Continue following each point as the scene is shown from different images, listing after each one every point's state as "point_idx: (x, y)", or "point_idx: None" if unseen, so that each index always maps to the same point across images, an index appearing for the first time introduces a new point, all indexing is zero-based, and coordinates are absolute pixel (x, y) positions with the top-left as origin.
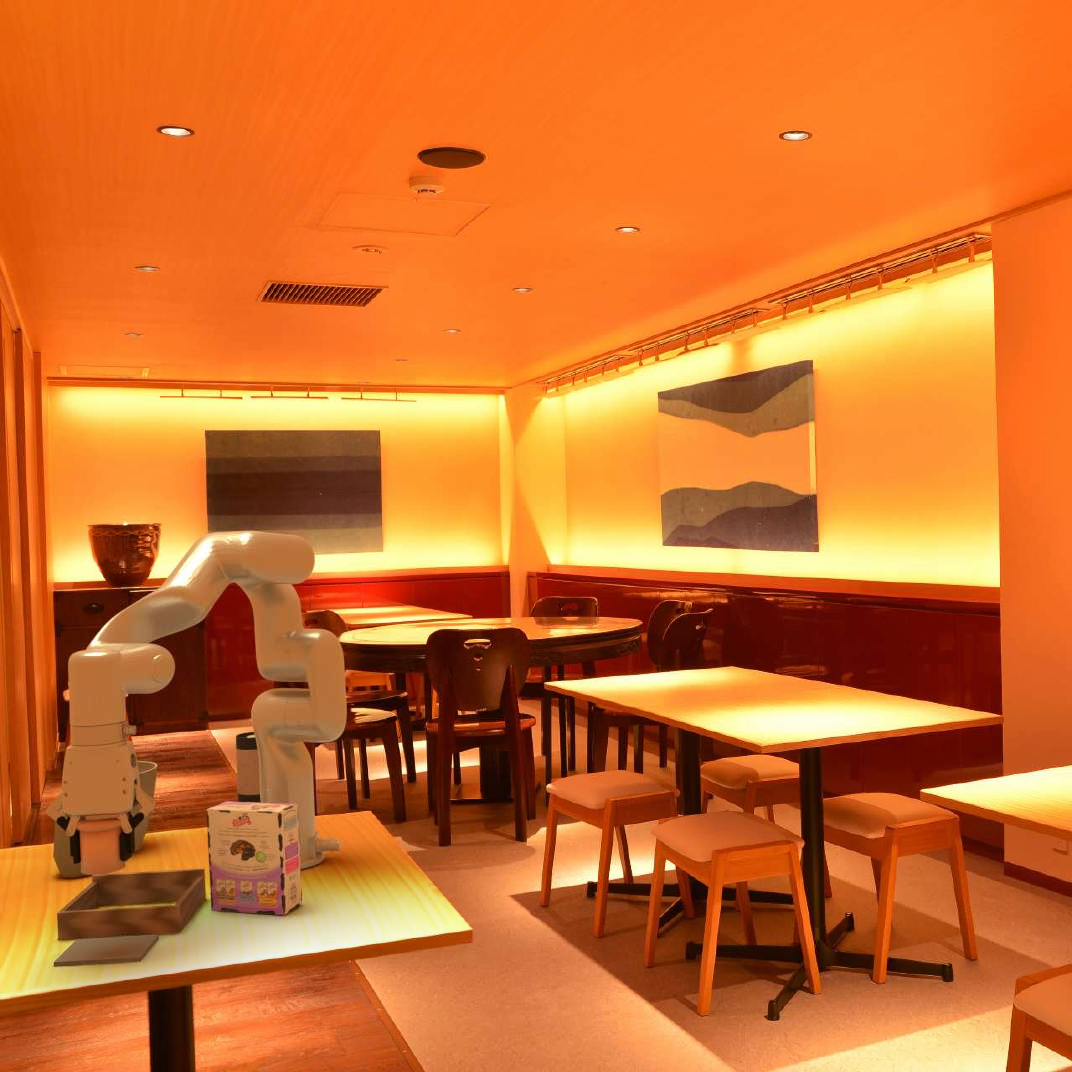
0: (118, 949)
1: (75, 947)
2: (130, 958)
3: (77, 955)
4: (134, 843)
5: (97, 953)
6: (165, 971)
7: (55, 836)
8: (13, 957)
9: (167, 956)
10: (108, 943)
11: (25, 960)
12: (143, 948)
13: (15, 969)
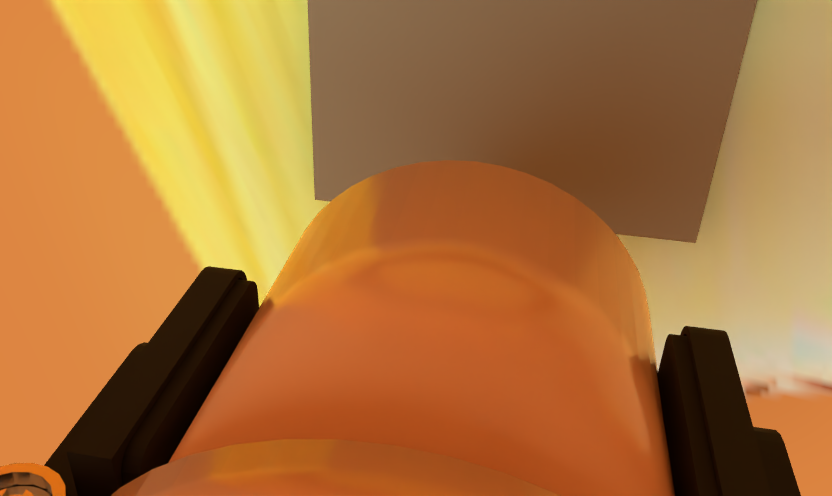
0: (573, 118)
1: (345, 36)
2: (650, 236)
3: (394, 149)
4: (791, 488)
5: (481, 146)
6: (810, 360)
7: None
8: (85, 32)
9: (819, 203)
10: (502, 17)
11: (161, 85)
12: (701, 139)
13: (173, 179)
